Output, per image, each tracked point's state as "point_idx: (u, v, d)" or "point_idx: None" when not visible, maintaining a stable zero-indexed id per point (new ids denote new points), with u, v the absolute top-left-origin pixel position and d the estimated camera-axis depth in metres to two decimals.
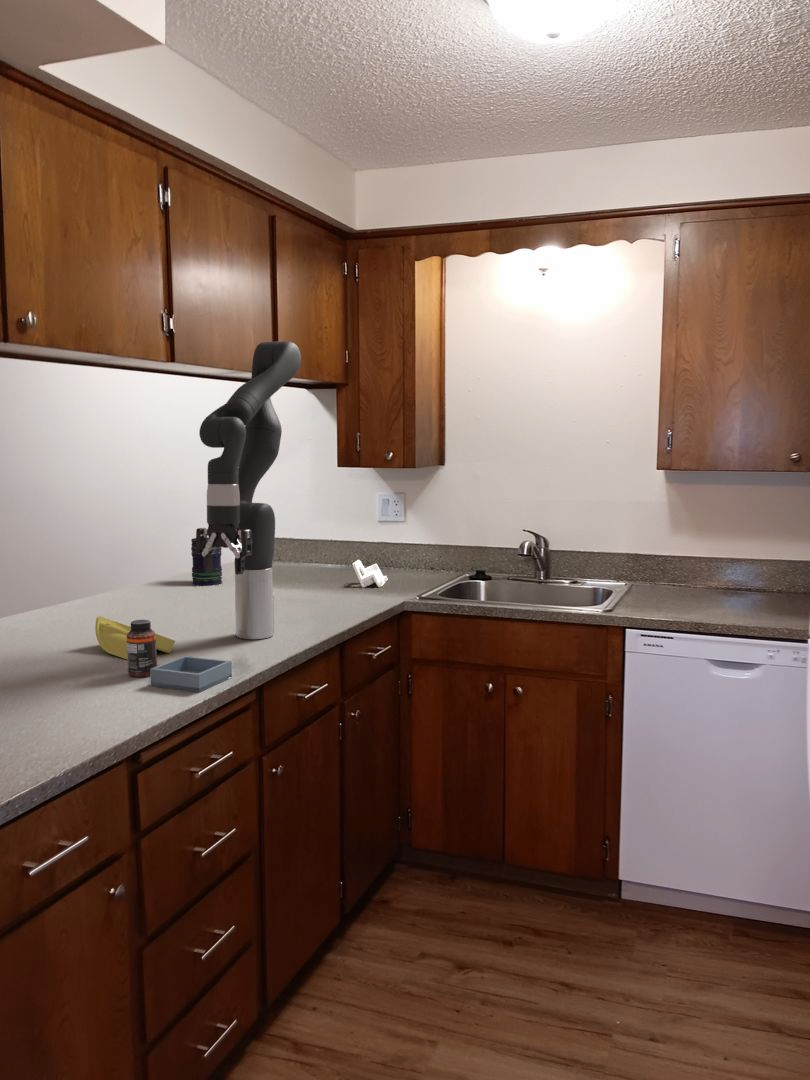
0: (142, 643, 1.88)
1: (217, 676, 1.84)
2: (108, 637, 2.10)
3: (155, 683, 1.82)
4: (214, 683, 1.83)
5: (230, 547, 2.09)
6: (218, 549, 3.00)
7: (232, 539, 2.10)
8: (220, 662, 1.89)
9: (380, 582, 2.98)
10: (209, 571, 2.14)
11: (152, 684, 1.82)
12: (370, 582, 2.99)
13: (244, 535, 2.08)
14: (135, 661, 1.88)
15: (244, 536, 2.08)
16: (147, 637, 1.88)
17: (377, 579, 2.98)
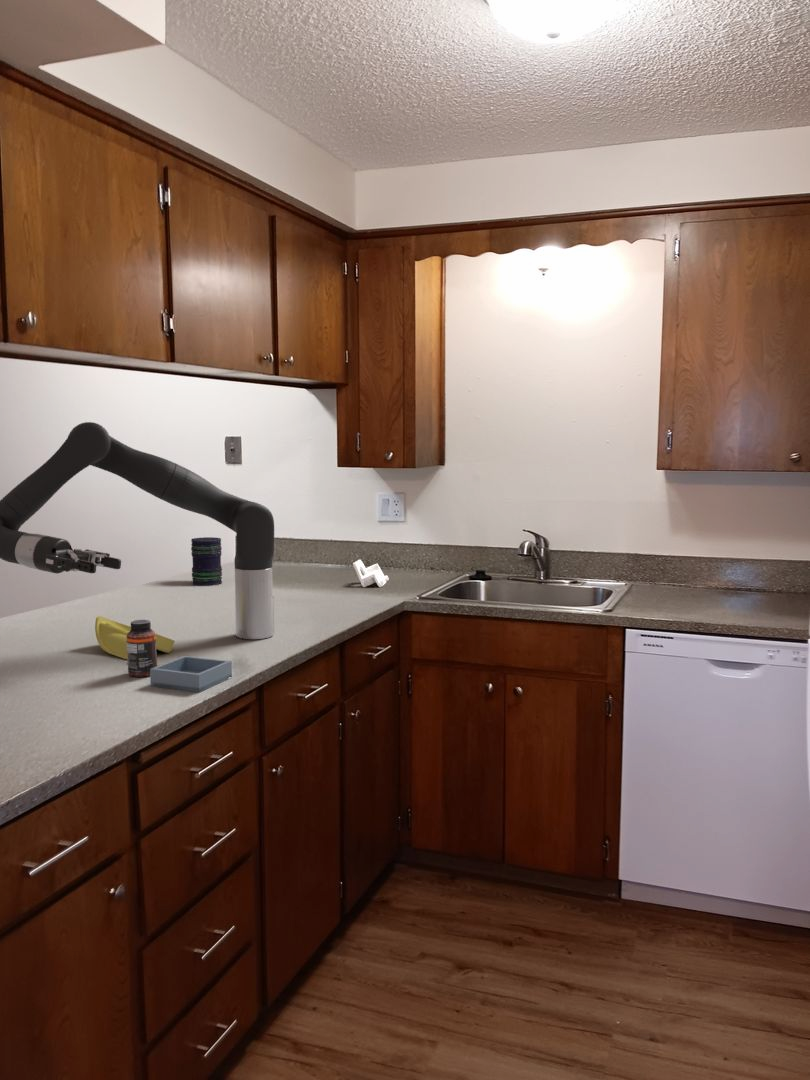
0: (142, 643, 1.88)
1: (217, 676, 1.84)
2: (107, 637, 2.10)
3: (155, 683, 1.82)
4: (214, 683, 1.83)
5: None
6: (218, 549, 3.00)
7: None
8: (220, 662, 1.89)
9: (381, 582, 2.98)
10: (117, 565, 1.95)
11: (152, 684, 1.82)
12: (371, 582, 2.99)
13: (49, 567, 1.88)
14: (135, 661, 1.88)
15: None
16: (147, 637, 1.88)
17: (378, 579, 2.98)
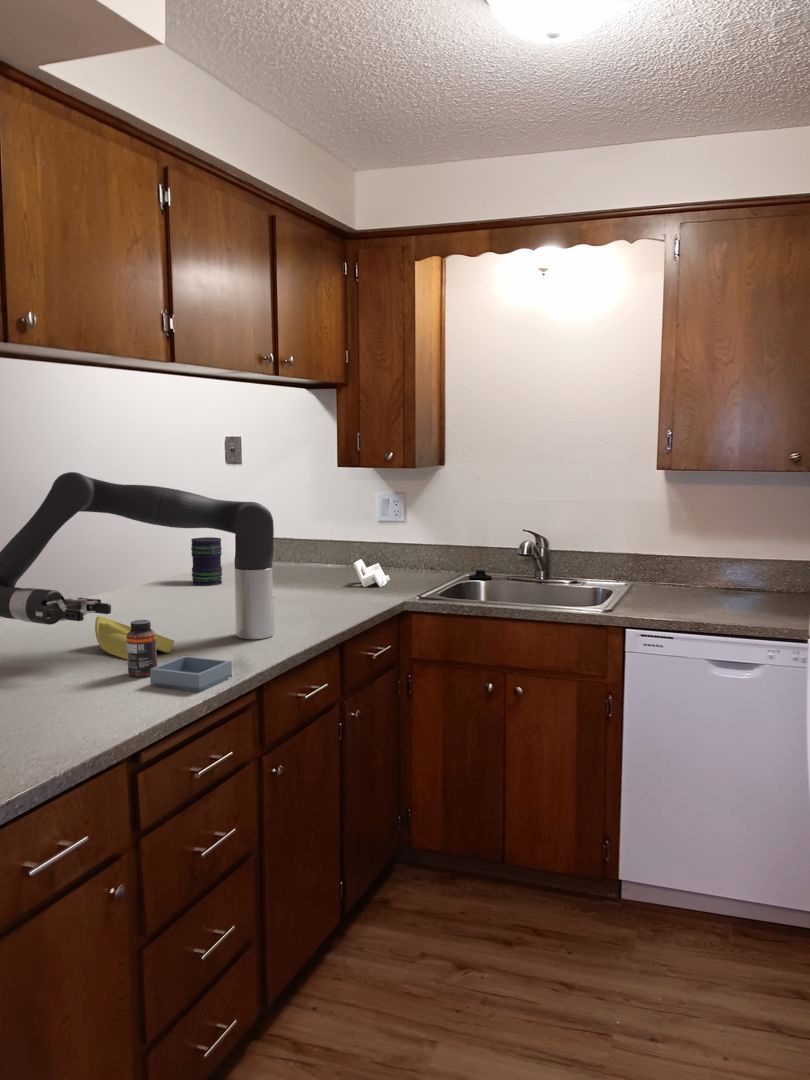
0: (142, 643, 1.88)
1: (217, 676, 1.84)
2: (107, 636, 2.10)
3: (155, 683, 1.82)
4: (214, 683, 1.83)
5: None
6: (218, 549, 3.00)
7: None
8: (220, 662, 1.89)
9: (381, 582, 2.98)
10: (107, 610, 1.98)
11: (152, 684, 1.82)
12: (371, 582, 2.99)
13: (40, 619, 1.92)
14: (135, 661, 1.88)
15: None
16: (147, 637, 1.88)
17: (378, 579, 2.98)
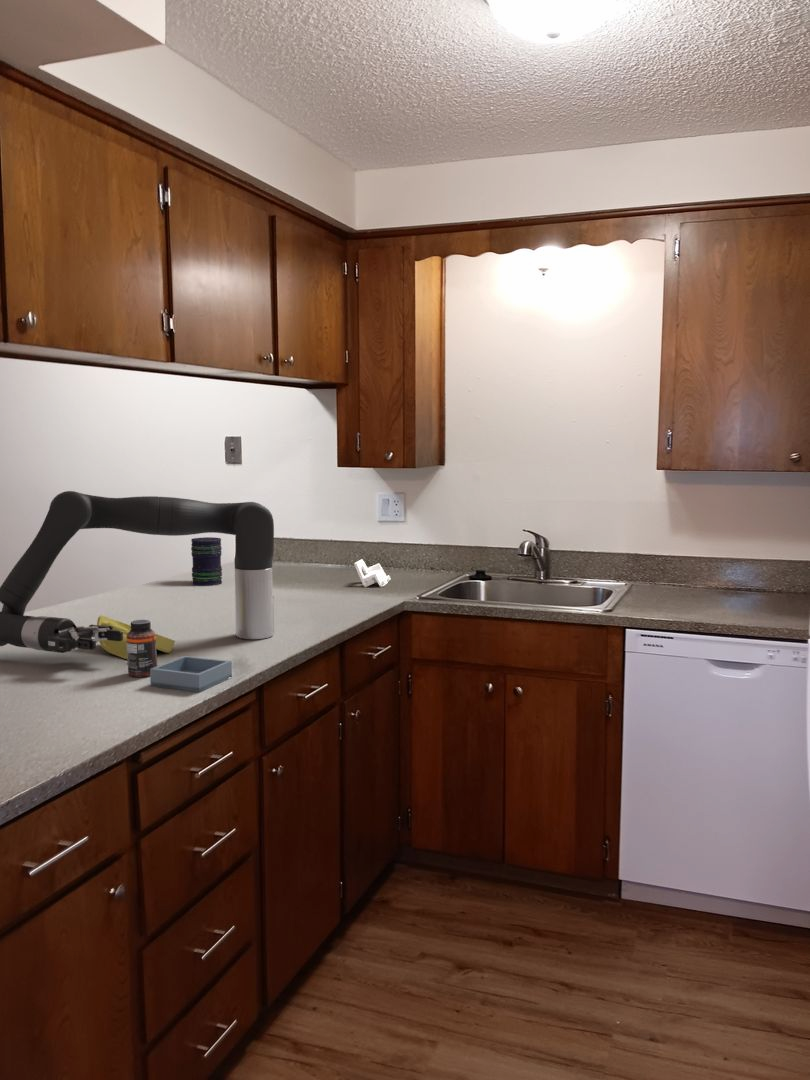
0: (142, 643, 1.88)
1: (217, 676, 1.84)
2: None
3: (155, 683, 1.82)
4: (214, 683, 1.83)
5: None
6: (218, 549, 3.00)
7: None
8: (220, 662, 1.89)
9: (382, 582, 2.98)
10: (119, 637, 1.98)
11: (152, 684, 1.82)
12: (372, 582, 3.00)
13: None
14: (135, 661, 1.88)
15: None
16: (147, 637, 1.88)
17: (379, 579, 2.99)
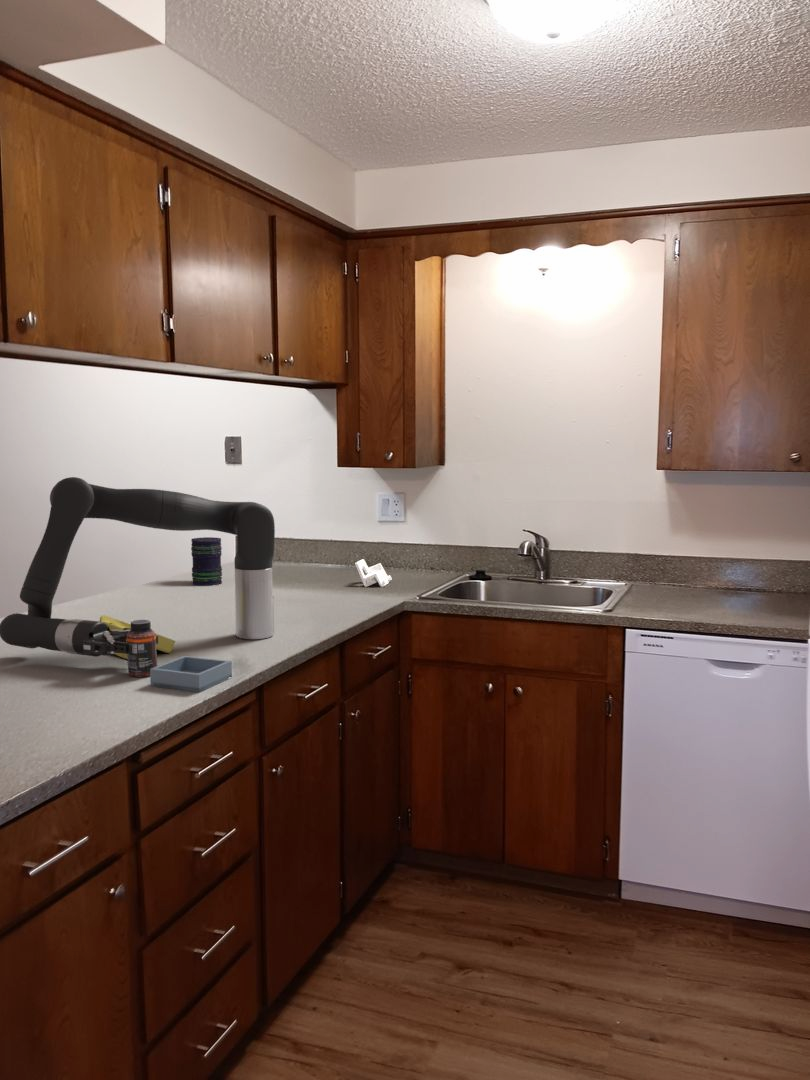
0: (142, 643, 1.88)
1: (217, 676, 1.84)
2: None
3: (155, 683, 1.82)
4: (214, 683, 1.83)
5: None
6: (218, 549, 3.00)
7: None
8: (220, 662, 1.89)
9: (382, 582, 2.99)
10: None
11: (152, 684, 1.82)
12: (373, 581, 3.00)
13: None
14: (135, 661, 1.88)
15: None
16: (147, 637, 1.88)
17: (380, 579, 2.99)
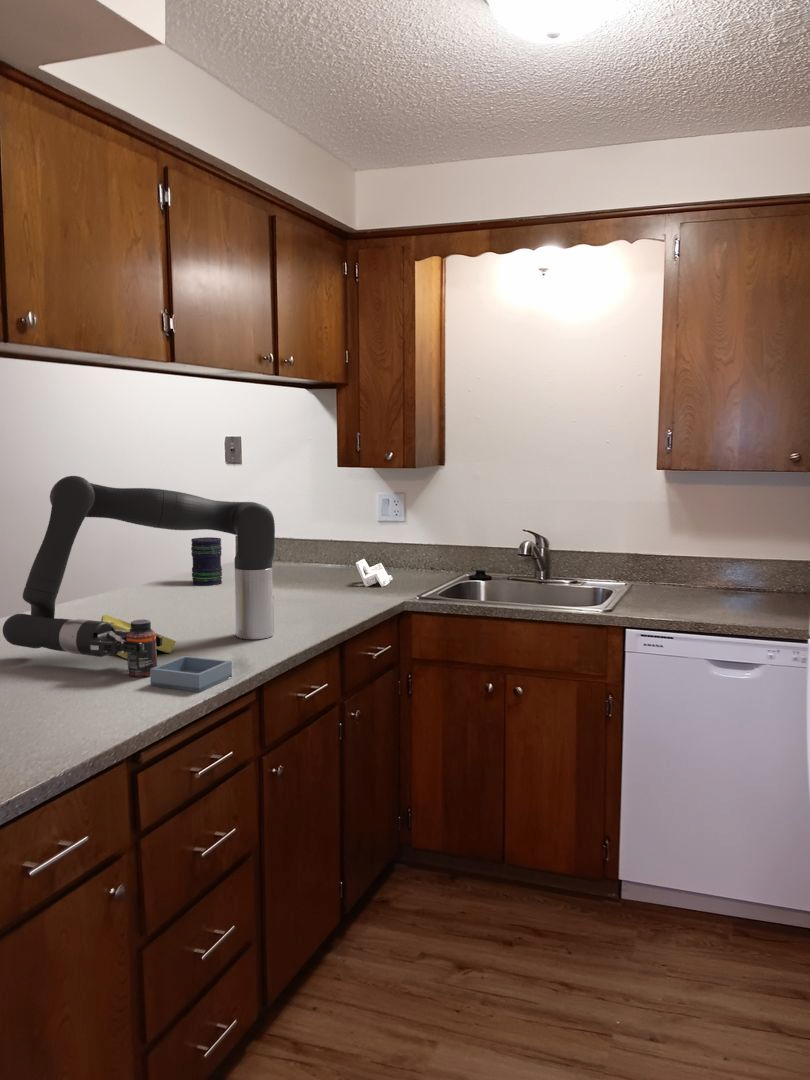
0: (142, 643, 1.88)
1: (217, 676, 1.84)
2: None
3: (155, 683, 1.82)
4: (214, 683, 1.83)
5: None
6: (218, 549, 3.00)
7: (109, 648, 1.90)
8: (220, 662, 1.89)
9: (383, 581, 2.99)
10: (159, 642, 1.93)
11: (152, 684, 1.82)
12: (373, 581, 3.00)
13: None
14: (135, 661, 1.88)
15: None
16: (147, 637, 1.88)
17: (380, 578, 2.99)
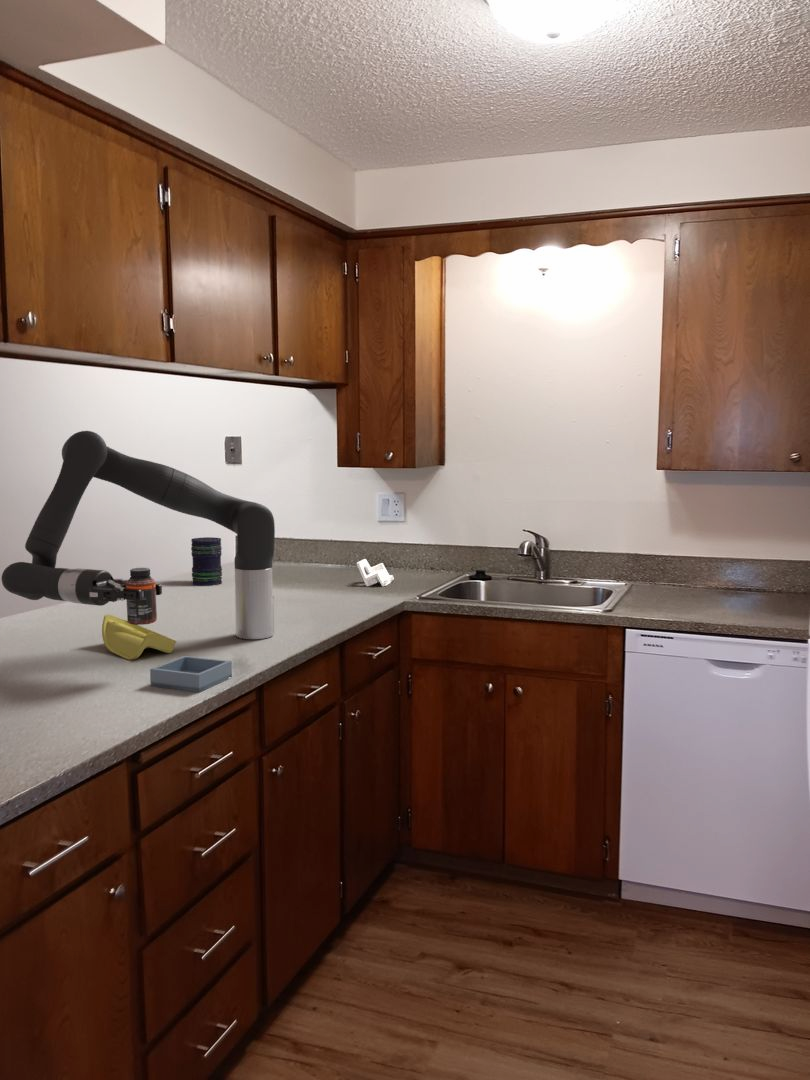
0: None
1: (217, 676, 1.84)
2: (112, 635, 2.12)
3: (155, 683, 1.82)
4: (214, 683, 1.83)
5: None
6: (218, 549, 3.00)
7: (109, 596, 1.89)
8: (220, 662, 1.89)
9: (384, 581, 2.99)
10: (158, 591, 1.91)
11: (152, 684, 1.82)
12: (374, 581, 3.01)
13: None
14: (134, 609, 1.87)
15: None
16: (146, 585, 1.87)
17: (381, 578, 2.99)
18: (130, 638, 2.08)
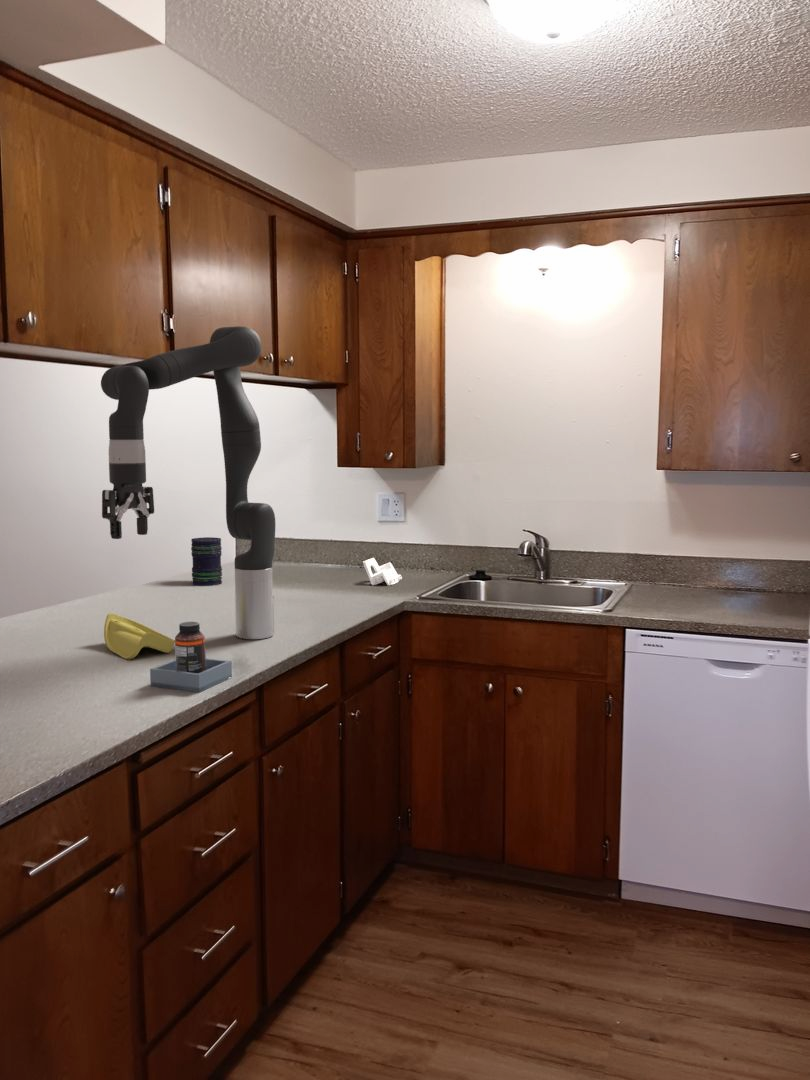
0: (192, 646, 1.82)
1: (217, 676, 1.84)
2: (113, 634, 2.13)
3: (155, 683, 1.82)
4: (214, 683, 1.83)
5: None
6: (218, 549, 3.00)
7: (115, 500, 1.93)
8: (220, 662, 1.89)
9: (389, 580, 3.01)
10: (140, 533, 2.00)
11: (152, 684, 1.82)
12: (380, 580, 3.03)
13: None
14: (184, 665, 1.83)
15: None
16: (197, 640, 1.83)
17: (387, 577, 3.01)
18: (129, 637, 2.09)
